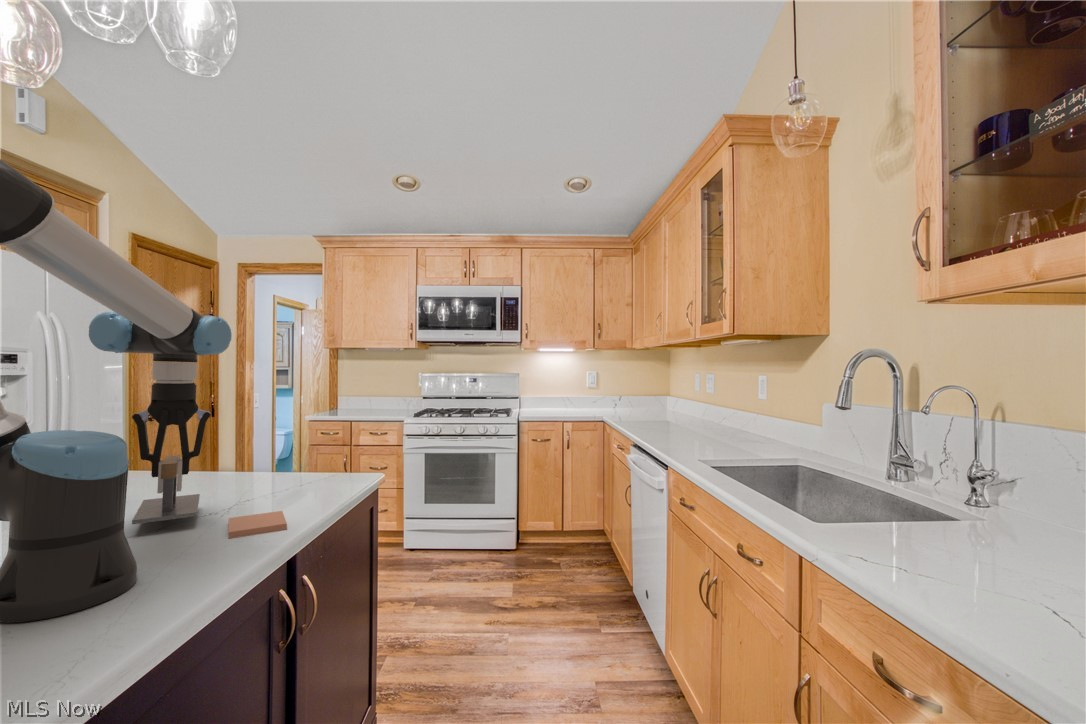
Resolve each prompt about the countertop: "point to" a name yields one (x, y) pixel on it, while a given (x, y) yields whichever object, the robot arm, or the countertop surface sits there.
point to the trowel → (168, 498)
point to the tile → (256, 524)
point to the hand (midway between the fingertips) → (169, 490)
